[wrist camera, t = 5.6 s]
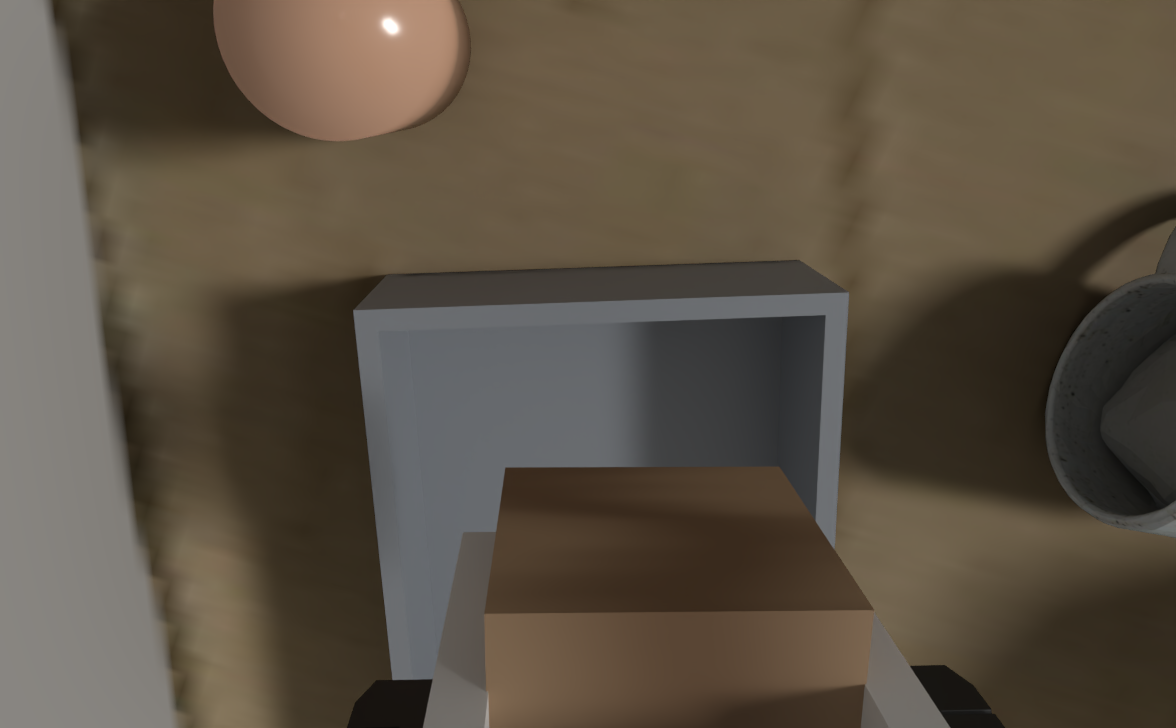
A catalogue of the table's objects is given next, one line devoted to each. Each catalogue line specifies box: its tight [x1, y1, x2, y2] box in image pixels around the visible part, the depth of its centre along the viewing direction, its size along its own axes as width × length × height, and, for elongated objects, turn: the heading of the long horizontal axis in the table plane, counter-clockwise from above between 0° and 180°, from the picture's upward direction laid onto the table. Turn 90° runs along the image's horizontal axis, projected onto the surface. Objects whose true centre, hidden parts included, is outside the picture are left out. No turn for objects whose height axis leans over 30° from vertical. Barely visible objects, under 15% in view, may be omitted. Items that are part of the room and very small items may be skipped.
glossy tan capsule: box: [213, 0, 471, 141], centre depth 23 cm, size 5×5×7 cm
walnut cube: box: [484, 467, 874, 728], centre depth 14 cm, size 5×5×5 cm
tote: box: [353, 260, 849, 680], centre depth 28 cm, size 17×13×5 cm
